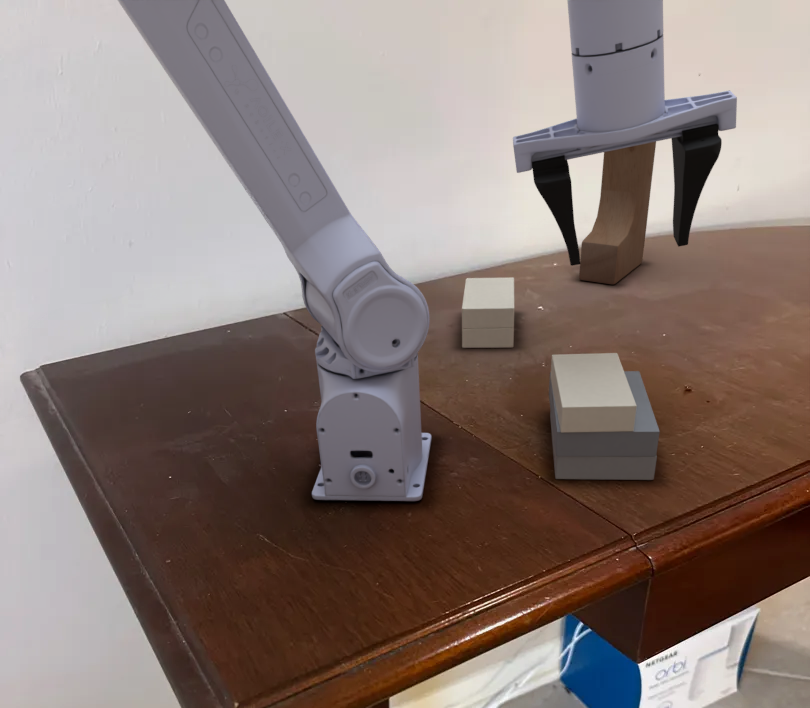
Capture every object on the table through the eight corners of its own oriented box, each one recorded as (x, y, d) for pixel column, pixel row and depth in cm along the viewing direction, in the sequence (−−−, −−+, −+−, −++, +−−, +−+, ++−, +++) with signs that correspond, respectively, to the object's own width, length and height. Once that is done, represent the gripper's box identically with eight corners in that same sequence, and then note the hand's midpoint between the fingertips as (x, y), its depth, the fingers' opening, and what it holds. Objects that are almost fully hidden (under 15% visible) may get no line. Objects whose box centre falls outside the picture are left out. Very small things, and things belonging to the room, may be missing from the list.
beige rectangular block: (633, 431, 56) (636, 405, 55) (560, 432, 57) (562, 407, 56) (614, 376, 64) (617, 352, 62) (550, 378, 64) (551, 354, 63)
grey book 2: (653, 480, 59) (657, 456, 57) (555, 479, 59) (556, 455, 58) (636, 416, 67) (639, 393, 65) (550, 416, 67) (551, 394, 66)
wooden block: (614, 286, 92) (632, 108, 82) (577, 280, 94) (590, 106, 84) (643, 263, 98) (662, 94, 88) (607, 258, 100) (622, 93, 90)
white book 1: (513, 328, 78) (514, 307, 77) (461, 328, 79) (461, 308, 78) (513, 296, 85) (514, 277, 84) (466, 296, 86) (465, 278, 85)
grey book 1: (656, 456, 57) (659, 431, 56) (555, 456, 58) (557, 431, 57) (636, 394, 65) (639, 370, 64) (548, 394, 66) (549, 371, 65)
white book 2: (513, 347, 79) (513, 328, 78) (462, 348, 80) (461, 328, 79) (513, 314, 87) (513, 296, 85) (466, 315, 87) (466, 296, 86)
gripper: (722, 6, 54) (718, 213, 62) (503, 57, 56) (527, 248, 65) (747, 23, 48) (739, 247, 57) (504, 79, 51) (530, 284, 60)
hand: (626, 250), depth 60 cm, fingers open, 7 cm apart
